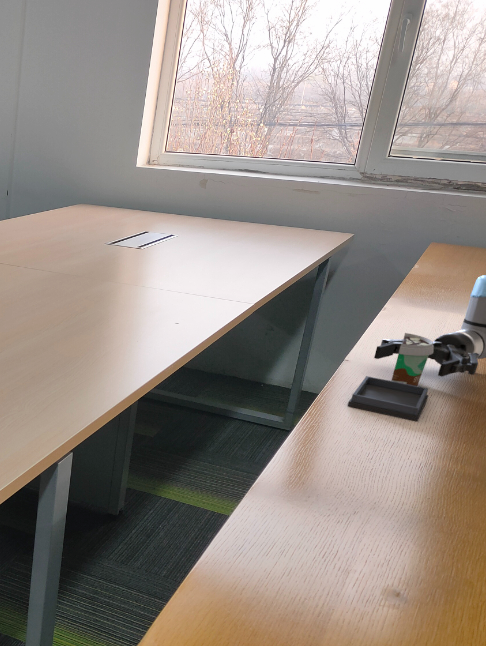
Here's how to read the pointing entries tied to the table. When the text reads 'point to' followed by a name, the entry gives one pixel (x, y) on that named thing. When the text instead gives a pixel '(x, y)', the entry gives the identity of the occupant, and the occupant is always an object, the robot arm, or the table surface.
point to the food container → (412, 359)
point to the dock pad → (390, 398)
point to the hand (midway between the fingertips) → (408, 361)
